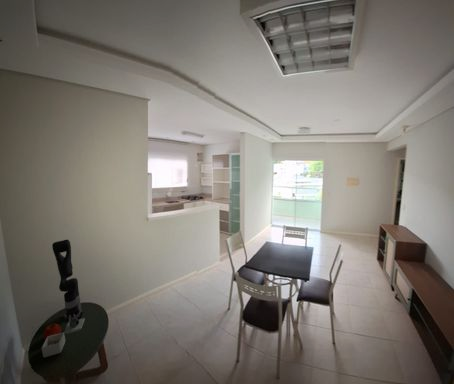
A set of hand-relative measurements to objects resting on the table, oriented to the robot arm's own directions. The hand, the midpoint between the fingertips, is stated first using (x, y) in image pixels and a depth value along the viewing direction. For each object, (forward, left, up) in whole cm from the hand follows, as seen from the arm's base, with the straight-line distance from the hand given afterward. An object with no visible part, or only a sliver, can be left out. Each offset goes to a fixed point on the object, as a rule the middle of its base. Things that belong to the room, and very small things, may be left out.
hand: (74, 324), depth 158 cm
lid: (0, 0, -2) cm, 2 cm away
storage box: (+3, -13, -13) cm, 19 cm away
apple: (-10, -18, -14) cm, 25 cm away
